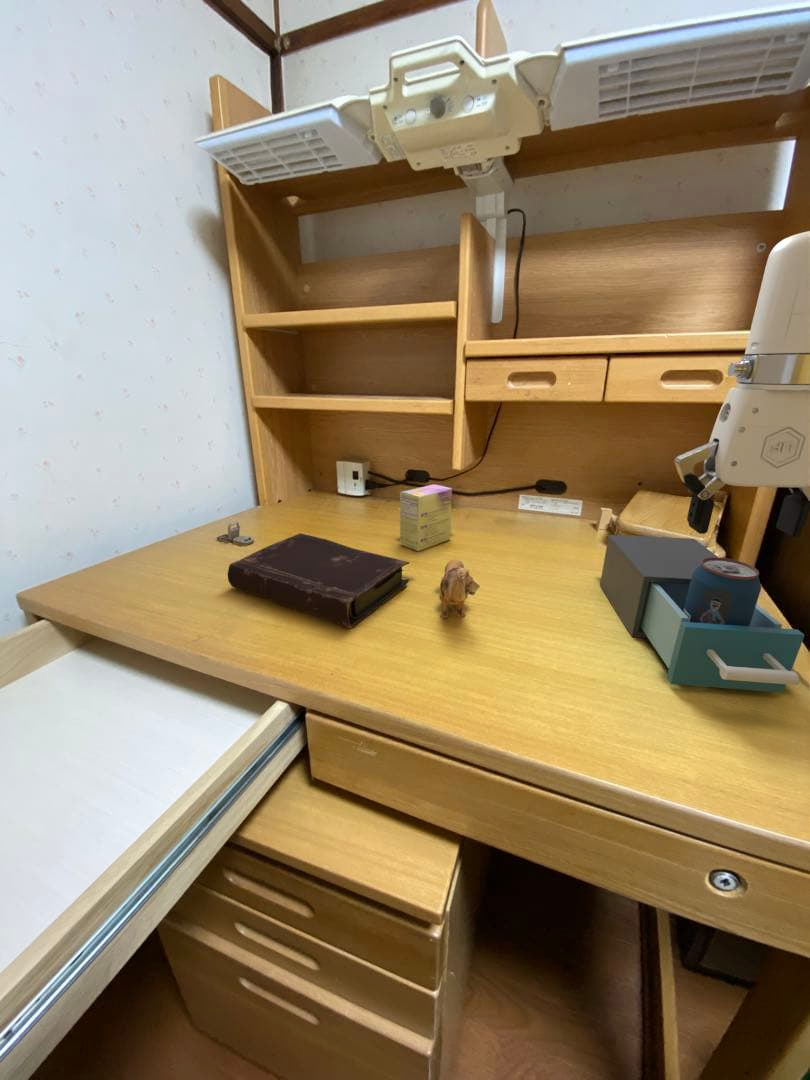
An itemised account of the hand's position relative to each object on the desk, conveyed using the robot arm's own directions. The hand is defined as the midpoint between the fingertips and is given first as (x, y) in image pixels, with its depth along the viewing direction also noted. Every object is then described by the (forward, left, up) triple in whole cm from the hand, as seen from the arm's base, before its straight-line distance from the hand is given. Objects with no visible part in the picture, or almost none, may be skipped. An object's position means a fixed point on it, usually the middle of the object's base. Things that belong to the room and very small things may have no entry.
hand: (741, 531), depth 53 cm
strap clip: (+80, -34, -19) cm, 89 cm away
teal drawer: (0, 0, -18) cm, 18 cm away
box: (+39, -39, -19) cm, 58 cm away
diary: (+55, -15, -19) cm, 60 cm away
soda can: (0, 0, -17) cm, 17 cm away
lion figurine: (+32, -11, -19) cm, 39 cm away
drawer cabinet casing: (0, -14, -18) cm, 23 cm away
